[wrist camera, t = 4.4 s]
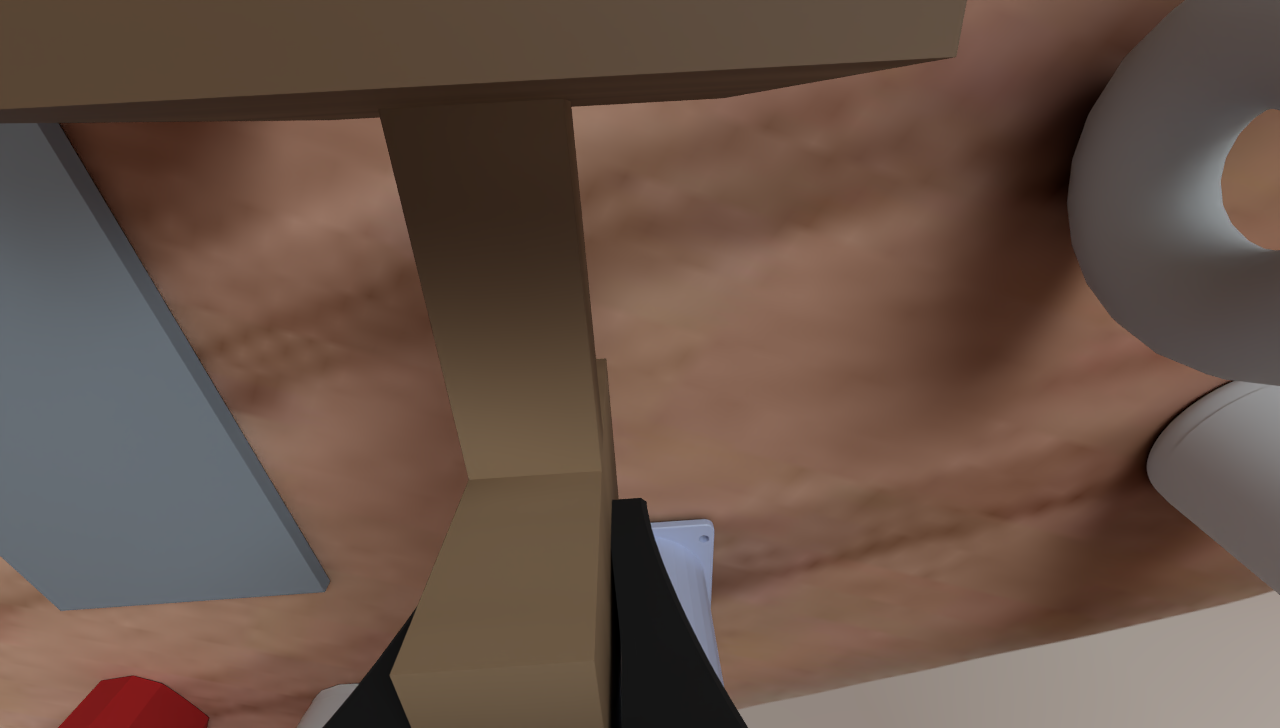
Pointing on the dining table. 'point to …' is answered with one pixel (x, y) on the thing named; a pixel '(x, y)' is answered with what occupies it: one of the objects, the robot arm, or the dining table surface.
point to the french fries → (134, 707)
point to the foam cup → (325, 705)
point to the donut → (1182, 191)
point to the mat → (116, 416)
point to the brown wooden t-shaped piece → (475, 250)
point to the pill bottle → (1227, 472)
